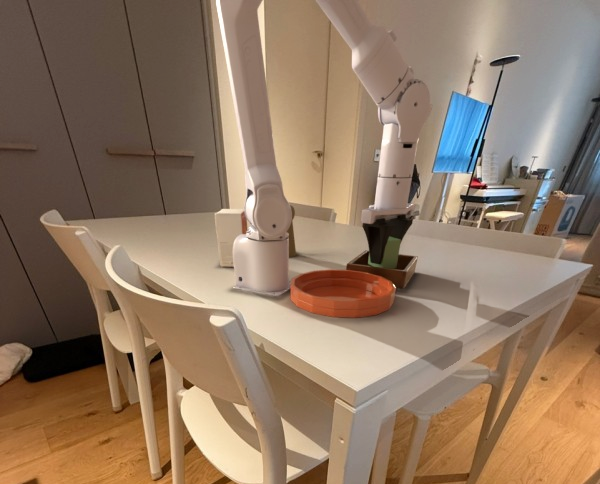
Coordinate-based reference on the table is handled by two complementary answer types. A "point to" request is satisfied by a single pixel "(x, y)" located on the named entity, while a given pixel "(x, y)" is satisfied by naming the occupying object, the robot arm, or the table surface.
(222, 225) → the small box
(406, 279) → the holder
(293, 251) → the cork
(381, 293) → the orange round tray
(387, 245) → the green block
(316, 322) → the table surface
